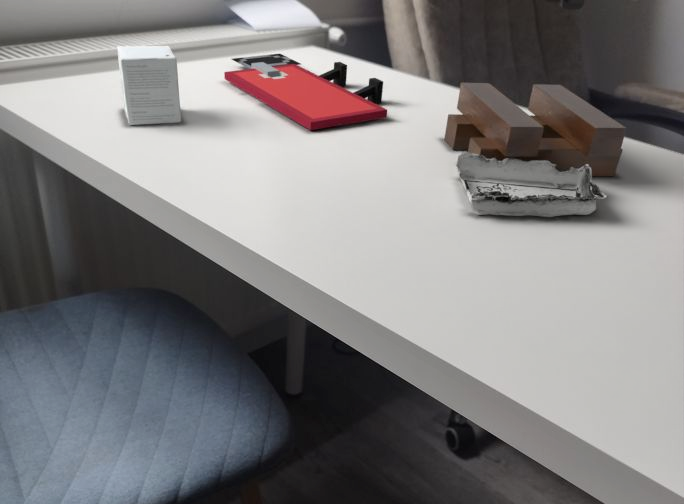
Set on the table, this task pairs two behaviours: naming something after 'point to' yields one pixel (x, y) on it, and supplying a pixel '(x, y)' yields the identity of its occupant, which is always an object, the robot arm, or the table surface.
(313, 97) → the red board with handle
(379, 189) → the table surface
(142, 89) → the product box
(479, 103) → the stacked wooden blocks
